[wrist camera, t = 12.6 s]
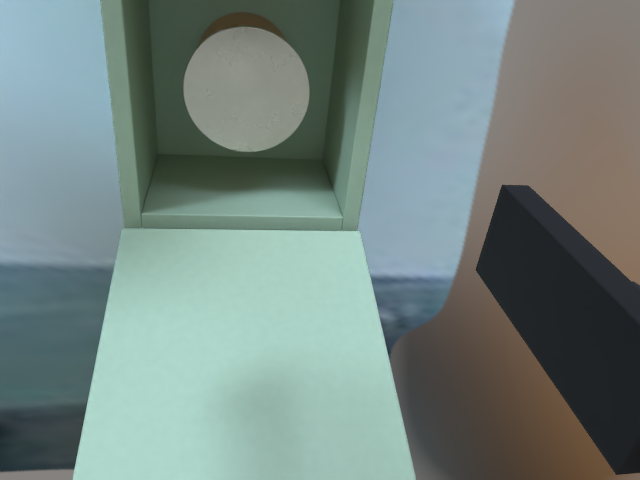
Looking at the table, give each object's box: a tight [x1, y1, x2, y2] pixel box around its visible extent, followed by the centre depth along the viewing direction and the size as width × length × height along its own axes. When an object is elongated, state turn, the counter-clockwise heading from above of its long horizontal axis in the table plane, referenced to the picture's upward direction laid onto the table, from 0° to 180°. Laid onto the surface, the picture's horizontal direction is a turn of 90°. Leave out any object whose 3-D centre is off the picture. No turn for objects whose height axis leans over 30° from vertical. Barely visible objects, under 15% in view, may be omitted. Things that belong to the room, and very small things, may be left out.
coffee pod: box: [183, 12, 310, 152], centre depth 26 cm, size 6×6×6 cm
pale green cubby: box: [100, 0, 394, 231], centre depth 26 cm, size 13×11×8 cm
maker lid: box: [73, 228, 416, 480], centre depth 21 cm, size 13×11×1 cm
